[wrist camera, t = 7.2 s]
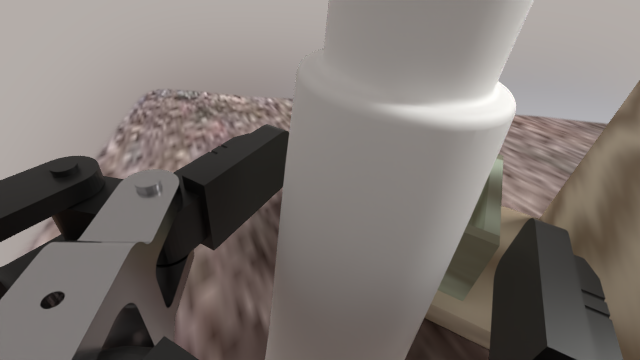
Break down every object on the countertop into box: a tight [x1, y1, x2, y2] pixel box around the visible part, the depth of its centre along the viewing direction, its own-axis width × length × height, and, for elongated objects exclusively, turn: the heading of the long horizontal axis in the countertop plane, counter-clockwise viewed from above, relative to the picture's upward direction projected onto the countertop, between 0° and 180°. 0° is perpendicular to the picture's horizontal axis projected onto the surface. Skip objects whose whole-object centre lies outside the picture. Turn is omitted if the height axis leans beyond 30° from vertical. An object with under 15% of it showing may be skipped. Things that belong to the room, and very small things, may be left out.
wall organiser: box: [424, 81, 640, 360], centre depth 17 cm, size 16×18×22 cm
